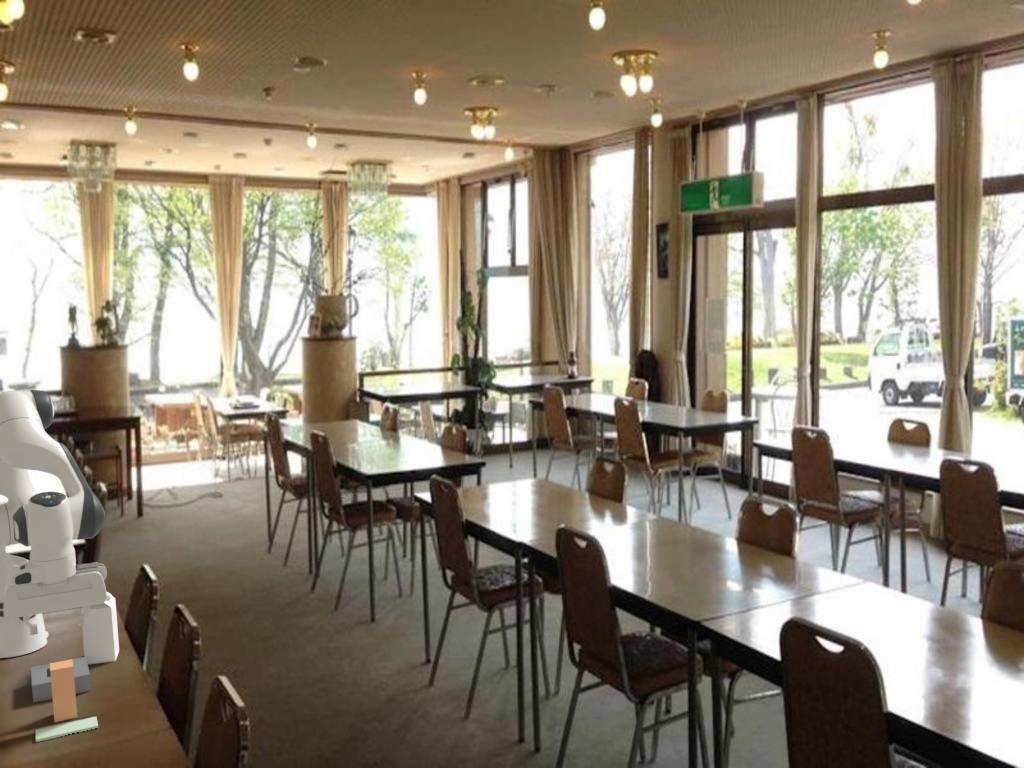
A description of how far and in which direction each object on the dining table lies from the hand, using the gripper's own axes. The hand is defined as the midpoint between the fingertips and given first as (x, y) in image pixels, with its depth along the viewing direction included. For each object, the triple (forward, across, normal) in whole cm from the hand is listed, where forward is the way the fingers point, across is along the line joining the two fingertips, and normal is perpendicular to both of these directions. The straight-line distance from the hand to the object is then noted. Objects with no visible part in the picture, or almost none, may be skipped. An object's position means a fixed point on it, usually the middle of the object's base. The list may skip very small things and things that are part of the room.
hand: (58, 629), depth 201 cm
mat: (+21, 0, 0) cm, 21 cm away
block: (+20, 0, 0) cm, 20 cm away
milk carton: (+21, -10, -30) cm, 39 cm away
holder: (+21, 0, -16) cm, 27 cm away
